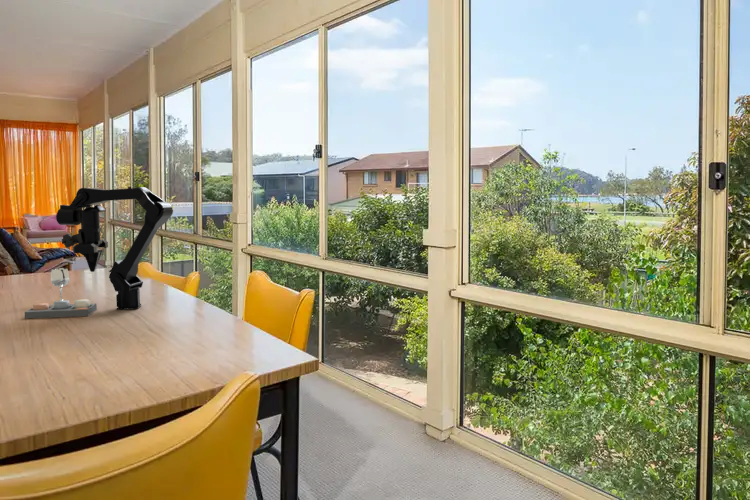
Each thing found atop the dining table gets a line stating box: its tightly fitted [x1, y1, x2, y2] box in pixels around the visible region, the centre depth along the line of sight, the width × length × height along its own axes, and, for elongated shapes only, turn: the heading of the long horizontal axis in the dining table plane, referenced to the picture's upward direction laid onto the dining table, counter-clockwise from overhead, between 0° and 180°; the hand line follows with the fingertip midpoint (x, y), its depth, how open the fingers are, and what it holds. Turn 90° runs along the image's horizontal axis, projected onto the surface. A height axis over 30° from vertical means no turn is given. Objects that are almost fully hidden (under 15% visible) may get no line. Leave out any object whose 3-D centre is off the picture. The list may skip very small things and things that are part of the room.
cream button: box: [73, 299, 91, 309], centre depth 182 cm, size 4×4×3 cm
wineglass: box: [50, 267, 70, 300], centre depth 198 cm, size 6×6×12 cm
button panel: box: [24, 303, 97, 319], centre depth 181 cm, size 18×10×2 cm, turn 102°
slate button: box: [53, 299, 70, 309], centre depth 181 cm, size 4×4×3 cm
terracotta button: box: [32, 302, 50, 310], centre depth 180 cm, size 4×4×3 cm
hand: (92, 271), depth 191 cm, fingers closed
